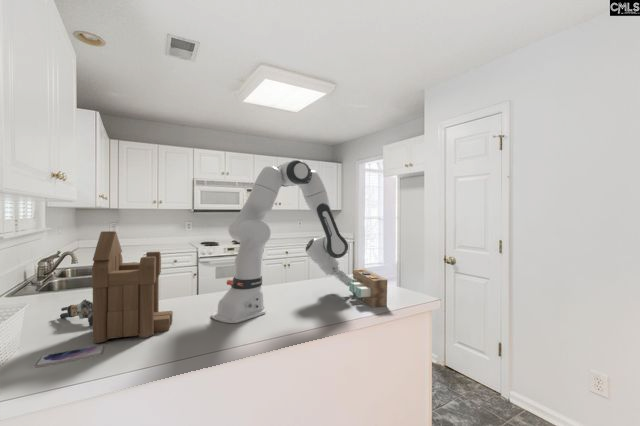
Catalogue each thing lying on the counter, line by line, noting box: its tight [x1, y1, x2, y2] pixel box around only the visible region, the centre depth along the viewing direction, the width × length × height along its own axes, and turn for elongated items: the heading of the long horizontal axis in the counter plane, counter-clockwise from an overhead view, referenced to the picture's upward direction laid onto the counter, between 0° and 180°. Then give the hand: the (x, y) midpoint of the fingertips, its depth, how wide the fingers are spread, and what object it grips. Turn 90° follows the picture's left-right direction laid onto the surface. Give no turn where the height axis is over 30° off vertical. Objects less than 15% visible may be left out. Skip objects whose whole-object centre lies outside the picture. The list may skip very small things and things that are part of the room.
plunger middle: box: [348, 282, 364, 294], centre depth 147 cm, size 9×4×4 cm, turn 106°
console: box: [352, 268, 388, 308], centre depth 148 cm, size 7×24×13 cm, turn 16°
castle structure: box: [91, 230, 174, 344], centre depth 111 cm, size 27×22×35 cm
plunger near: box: [355, 286, 371, 299], centre depth 139 cm, size 9×4×4 cm, turn 106°
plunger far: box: [349, 277, 358, 283], centre depth 155 cm, size 9×4×4 cm, turn 106°
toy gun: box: [59, 299, 93, 328], centre depth 113 cm, size 3×21×10 cm, turn 68°
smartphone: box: [34, 344, 105, 369], centre depth 88 cm, size 7×1×15 cm
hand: (348, 284), depth 154 cm, fingers closed
